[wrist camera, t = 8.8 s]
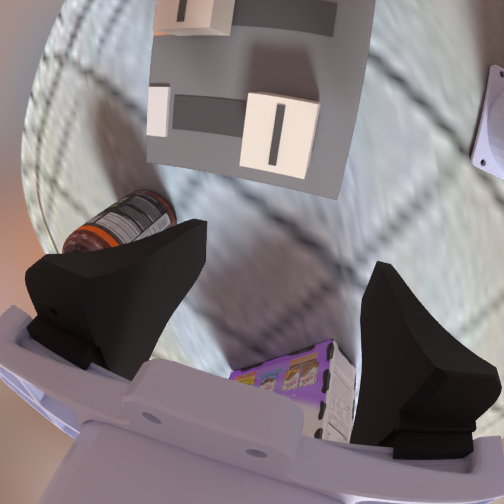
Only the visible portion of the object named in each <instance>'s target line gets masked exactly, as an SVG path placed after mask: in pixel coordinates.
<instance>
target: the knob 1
mask: <svg viewBox="0 0 504 504" xmlns="http://www.w3.org/2000/svg"><path fill="white" fill-rule="evenodd" d="M234 4H235V0H157V3H156V9H155V16H154V23H153V31H159V32H163V33H168V34H173V35H177V36H192V35H219V36H230V31H231V24H232V18H233V11H234Z"/></svg>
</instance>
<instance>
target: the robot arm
mask: <svg viewBox="0 0 504 504" xmlns="http://www.w3.org/2000/svg"><path fill="white" fill-rule="evenodd" d="M500 71H501V72H502V74H503V77H501V76H500ZM482 159H483V160H484V163H483V164H482V165H481V164H480V162H481V160H482ZM471 163H472V164H473V165H474V166H476V167H478V168H480V169H482V170H484V171H486V172H489V173H491V174H493V175H495V176H497V177H499V178H501V179H503V180H504V69H503V68H502V67H500V66H498V65H491V66H490V71H489V78H488V84H487V90H486V96H485V101H484V106H483V111H482V115H481V120H480V124H479V128H478V132H477V136H476V140H475V144H474V148H473V151H472V155H471ZM206 241H207V221H203V220H198V219H191V220H188V221H185V222H182V223H180V224H177V225H175V226H173V227H170V228H168V229H165V230H163V231H160V232H158V233H155V234H153V235H150V236H147V237H144V238H142V239H139V240H136V241H133V242H130V243H126V244H123V245H119V246H115V247H110V248H105V249H100V250H95V251H88V252H80V253H69V254H46V255H45V256H43V257H42V258H41V259H40V260H38V261H37V262H36V263H35V264H33V265H32V266H31V267H30V268H28V270H27V271H26V274H25V283H26V287H27V290H28V293H29V295H30V298H31V300H32V303H33V305H34V307H35V310H36V312H37V314H38V315H37V316H36V317H35V318H34V319H32V318H31V317H30V316H29V315H28V314H27V313H26V312H24V311H23V310H21V309H20V308H18V307H17V306H15V305H12V306H11V307H10V308H9V309H8V310H7V311H6V312H4V313H3V314H2V315H1V316H0V378H1V379H2V380H3V381H4V382H5V383H6V384H7V385H8V386H9V387H10V388H11V389H12V390H14V391H15V392H16V393H17V394H18V395H19V396H20V397H22V398H23V399H24V400H25V401H26V402H27V403H29V404H30V405H31V406H32V407H33V408H34V409H36V410H37V411H38V412H39V413H41V414H42V415H43V416H44V417H45V418H47V419H48V420H49V421H51V422H52V423H53V424H54V425H56V426H57V427H58V428H60V429H61V430H62V431H64V432H65V433H66V434H68V435H69V436H70V437H72V438H73V439H75V441H74V443H73V444H72V446H71V448H70V449H69V451H68V452H67V454H66V456H65V457H64V459H63V461H62V462H61V464H60V465H59V467H58V469H57V471H56V472H55V474H54V476H53V477H52V479H51V480H50V482H49V484H48V486H47V487H46V489H45V491H44V492H43V494H42V496H41V498H40V499H39V501H38V503H37V504H488V503H490V502H492V501H494V500H496V499H498V498H500V497H502V496H504V454H503V446H502V440H501V436H488V437H479V438H476V439H474V440H473V438H472V432H474V431H475V430H476V420H477V419H478V418H479V417H480V416H481V415H482V414H484V413H485V412H486V411H487V410H488V409H489V408H490V407H491V406H492V405H493V404H494V403H495V402H496V400H497V399H498V397H499V395H500V393H501V389H502V386H501V382H500V379H499V375H498V372H497V368H496V367H495V366H493V365H491V364H490V363H488V362H487V361H485V360H483V359H482V358H480V357H479V356H477V355H476V354H474V353H473V352H472V351H470V350H469V349H468V348H466V347H465V346H464V345H462V344H461V343H460V342H459V341H458V340H456V339H455V338H454V337H453V336H452V335H451V334H450V333H448V332H447V331H446V330H445V329H444V328H443V327H442V326H441V325H440V324H439V323H438V322H437V321H436V320H435V319H434V318H433V317H432V315H431V314H430V313H429V312H428V311H427V310H426V309H425V307H424V306H423V305H422V304H421V303H420V301H419V300H418V299H417V298H416V296H415V295H414V294H413V292H412V291H411V290H410V288H409V287H408V286H407V284H406V283H405V282H404V280H403V279H402V278H401V276H400V275H399V274H398V272H397V271H396V270H395V268H394V267H393V266H392V265H391V264H388V263H384V262H380V261H377V262H376V265H375V268H374V270H373V273H372V275H371V278H370V280H369V283H368V285H367V288H366V290H365V293H364V295H363V298H362V303H361V316H360V326H361V350H362V373H361V382H360V391H359V397H358V404H357V410H356V415H355V420H354V425H353V430H352V434H351V438H350V442H349V443H342V442H335V441H329V440H323V439H317V438H311V437H308V436H305V435H303V434H302V430H303V425H304V411H303V410H302V409H301V408H300V407H299V406H298V405H297V404H295V403H294V402H293V401H292V400H291V399H290V398H288V397H285V396H283V395H280V394H278V393H275V392H273V391H270V390H266V389H262V388H258V387H255V386H251V385H247V384H244V383H240V382H237V381H233V380H230V379H226V378H223V377H220V376H217V375H213V374H210V373H207V372H204V371H201V370H198V369H195V368H192V367H189V366H186V365H183V364H180V363H178V362H174V361H169V360H164V359H153V360H149V358H150V356H151V354H152V352H153V350H154V348H155V346H156V343H157V341H158V339H159V337H160V335H161V334H162V332H163V330H164V328H165V326H166V324H167V322H168V321H169V319H170V317H171V316H172V314H173V313H174V311H175V310H176V308H177V307H178V306H179V304H180V303H181V301H182V300H183V299H184V297H185V296H186V294H187V293H188V291H189V290H190V289H191V287H192V286H193V284H194V283H195V281H196V280H197V278H198V276H199V274H200V272H201V271H202V268H203V266H204V264H205V262H206Z"/></svg>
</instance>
